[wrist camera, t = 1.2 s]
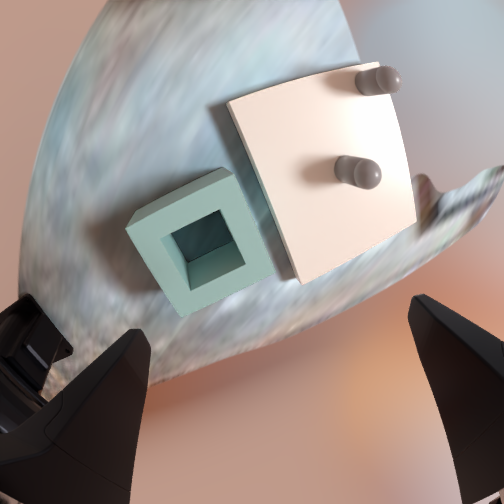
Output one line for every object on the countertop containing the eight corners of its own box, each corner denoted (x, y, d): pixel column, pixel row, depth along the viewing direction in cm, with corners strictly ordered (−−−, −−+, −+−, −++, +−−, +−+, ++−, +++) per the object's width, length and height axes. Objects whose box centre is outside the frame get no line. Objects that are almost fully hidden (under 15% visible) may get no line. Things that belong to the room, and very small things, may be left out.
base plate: (294, 276, 23) (322, 309, 18) (225, 104, 17) (240, 92, 12) (405, 216, 23) (444, 234, 19) (367, 64, 17) (409, 54, 13)
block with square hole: (179, 286, 20) (181, 318, 17) (135, 210, 18) (125, 228, 14) (258, 248, 21) (276, 272, 17) (223, 166, 18) (234, 173, 14)
